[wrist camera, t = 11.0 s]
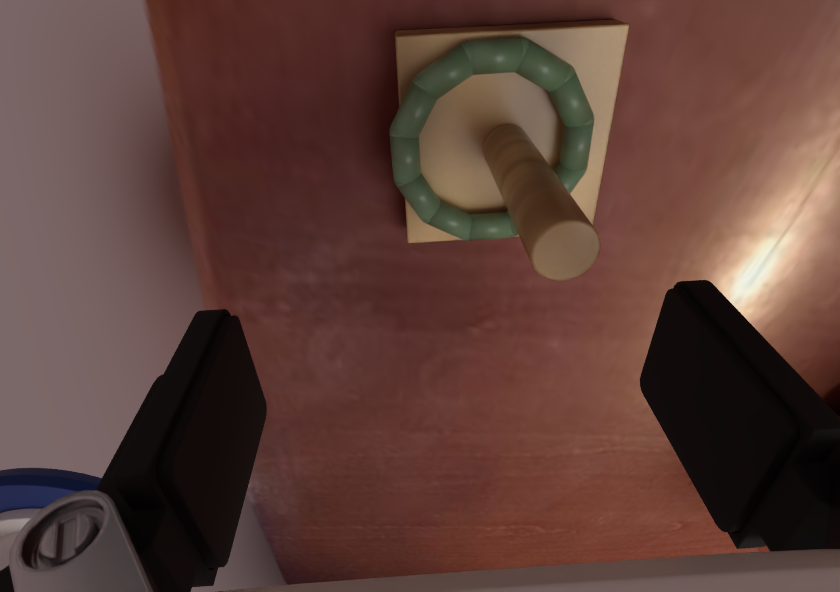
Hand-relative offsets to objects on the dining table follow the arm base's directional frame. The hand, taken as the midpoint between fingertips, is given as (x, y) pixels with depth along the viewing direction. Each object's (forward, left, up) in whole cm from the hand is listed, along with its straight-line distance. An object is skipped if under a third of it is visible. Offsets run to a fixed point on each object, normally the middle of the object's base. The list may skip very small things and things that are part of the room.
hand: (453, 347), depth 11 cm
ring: (+3, 0, -12) cm, 12 cm away
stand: (+4, 0, -14) cm, 15 cm away
